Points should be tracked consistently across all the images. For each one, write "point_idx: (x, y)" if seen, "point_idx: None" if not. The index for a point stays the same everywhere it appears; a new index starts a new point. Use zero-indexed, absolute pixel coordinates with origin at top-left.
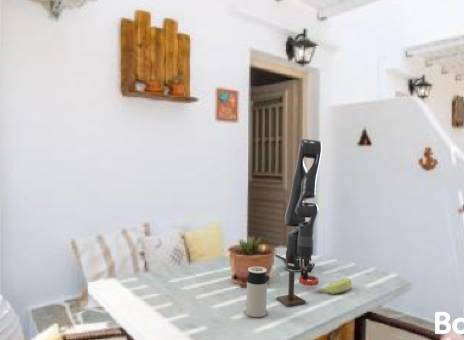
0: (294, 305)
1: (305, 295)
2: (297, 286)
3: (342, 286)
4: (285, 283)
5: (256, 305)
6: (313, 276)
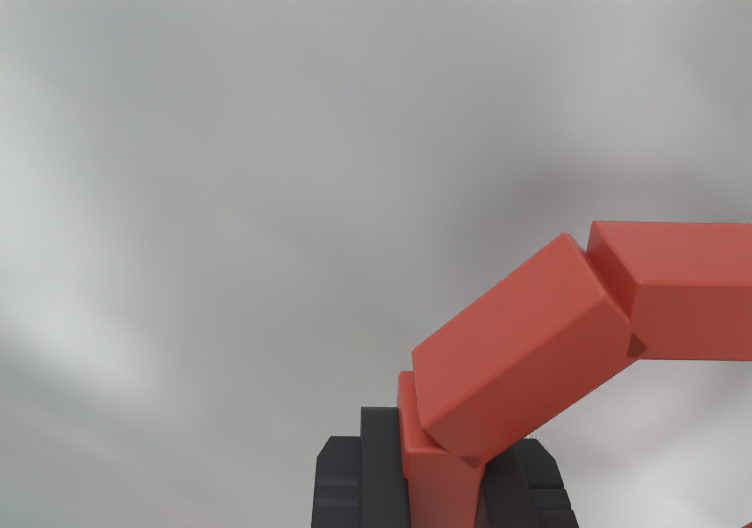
0: None
1: (742, 510)
2: (316, 400)
3: None
4: (93, 491)
5: None
6: (649, 336)
